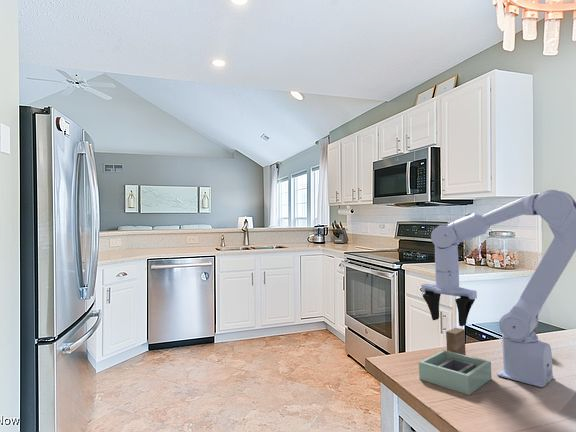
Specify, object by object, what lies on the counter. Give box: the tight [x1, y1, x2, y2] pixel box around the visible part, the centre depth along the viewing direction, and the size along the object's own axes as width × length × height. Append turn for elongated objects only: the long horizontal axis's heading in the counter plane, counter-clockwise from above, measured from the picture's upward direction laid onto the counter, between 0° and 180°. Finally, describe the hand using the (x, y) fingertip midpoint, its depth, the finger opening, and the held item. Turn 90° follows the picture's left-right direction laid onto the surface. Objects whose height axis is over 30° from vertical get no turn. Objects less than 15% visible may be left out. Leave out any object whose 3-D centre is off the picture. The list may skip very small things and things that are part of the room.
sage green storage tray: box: [418, 349, 493, 396], centre depth 89 cm, size 12×12×4 cm
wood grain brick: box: [445, 327, 467, 356], centre depth 100 cm, size 2×5×8 cm, turn 130°
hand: (448, 322), depth 101 cm, fingers open, 7 cm apart
